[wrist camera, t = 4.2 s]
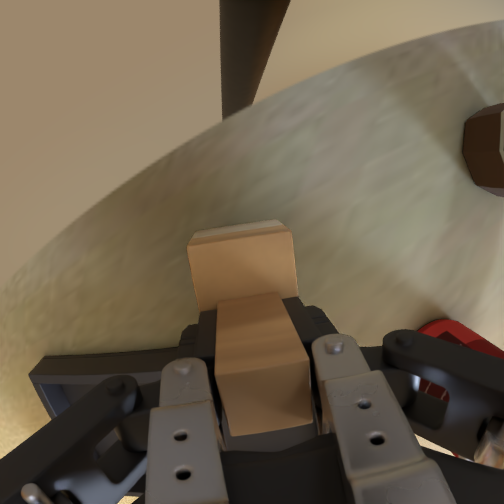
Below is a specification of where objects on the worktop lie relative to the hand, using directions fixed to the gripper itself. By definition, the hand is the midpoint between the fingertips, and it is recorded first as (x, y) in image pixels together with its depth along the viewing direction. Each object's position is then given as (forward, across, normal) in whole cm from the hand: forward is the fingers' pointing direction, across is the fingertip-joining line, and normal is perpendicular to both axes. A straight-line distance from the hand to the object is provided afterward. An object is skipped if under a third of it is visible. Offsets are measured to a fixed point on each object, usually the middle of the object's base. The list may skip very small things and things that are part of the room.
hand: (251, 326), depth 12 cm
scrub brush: (+4, 0, 0) cm, 4 cm away
